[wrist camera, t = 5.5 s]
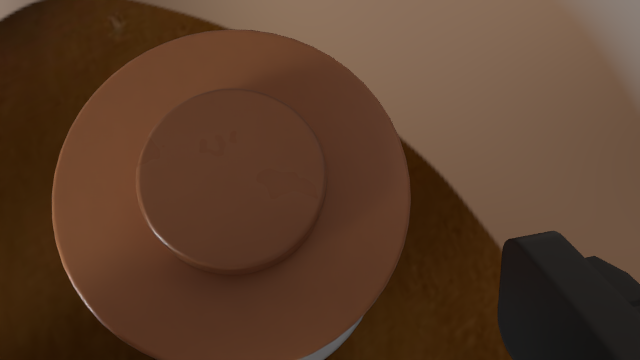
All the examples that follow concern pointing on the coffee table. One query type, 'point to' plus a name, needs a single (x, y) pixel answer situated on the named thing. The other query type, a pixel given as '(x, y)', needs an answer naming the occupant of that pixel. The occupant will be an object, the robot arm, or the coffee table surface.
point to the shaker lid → (231, 199)
